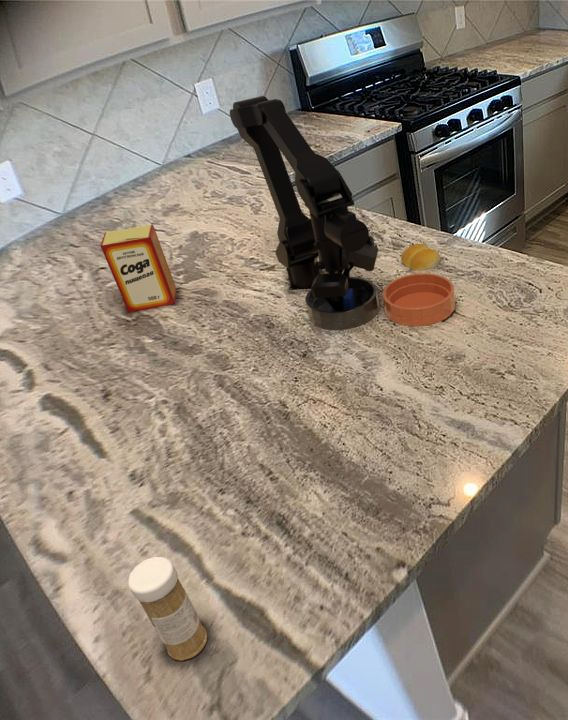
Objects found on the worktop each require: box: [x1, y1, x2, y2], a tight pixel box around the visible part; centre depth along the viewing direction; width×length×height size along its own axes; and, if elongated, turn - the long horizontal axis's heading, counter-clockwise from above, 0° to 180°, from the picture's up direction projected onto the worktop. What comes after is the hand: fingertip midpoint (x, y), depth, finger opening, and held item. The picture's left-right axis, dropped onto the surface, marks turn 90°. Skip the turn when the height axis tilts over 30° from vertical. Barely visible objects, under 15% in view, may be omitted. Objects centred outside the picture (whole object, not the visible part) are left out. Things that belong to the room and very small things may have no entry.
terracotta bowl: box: [382, 272, 456, 327], centre depth 133 cm, size 14×14×4 cm
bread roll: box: [400, 243, 441, 272], centre depth 150 cm, size 8×9×4 cm
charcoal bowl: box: [304, 276, 380, 331], centre depth 134 cm, size 14×14×4 cm
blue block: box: [331, 288, 355, 312], centre depth 134 cm, size 4×4×4 cm
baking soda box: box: [100, 224, 177, 313], centre depth 139 cm, size 10×6×16 cm
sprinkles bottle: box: [127, 556, 208, 662], centre depth 73 cm, size 5×5×13 cm
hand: (343, 304), depth 134 cm, fingers open, 6 cm apart
